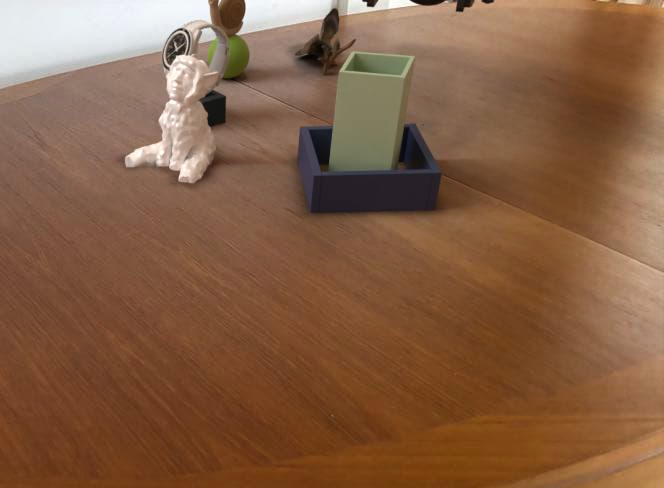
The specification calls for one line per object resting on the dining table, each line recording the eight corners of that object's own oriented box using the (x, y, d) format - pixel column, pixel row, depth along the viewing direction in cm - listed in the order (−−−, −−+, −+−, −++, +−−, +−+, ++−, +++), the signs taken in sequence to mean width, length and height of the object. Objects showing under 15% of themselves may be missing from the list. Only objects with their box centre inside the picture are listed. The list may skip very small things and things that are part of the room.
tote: (407, 169, 93) (415, 123, 90) (432, 222, 84) (442, 172, 81) (296, 172, 94) (299, 126, 90) (309, 224, 85) (313, 175, 81)
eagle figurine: (368, 63, 115) (349, 29, 121) (346, 20, 110) (328, -13, 116) (315, 96, 118) (299, 62, 124) (292, 56, 113) (276, 22, 119)
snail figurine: (193, 79, 117) (193, -19, 109) (227, 67, 120) (229, -29, 112) (223, 89, 113) (226, -11, 106) (257, 76, 116) (262, -22, 109)
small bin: (338, 170, 91) (352, 51, 84) (395, 177, 89) (415, 56, 82) (325, 194, 87) (339, 71, 79) (385, 202, 85) (405, 77, 78)
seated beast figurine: (121, 172, 95) (115, 59, 88) (172, 146, 100) (171, 36, 93) (189, 196, 90) (190, 78, 83) (240, 167, 95) (244, 53, 88)
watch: (155, 120, 106) (153, 24, 99) (210, 105, 109) (212, 11, 102) (181, 135, 103) (181, 36, 96) (238, 118, 106) (241, 22, 99)
